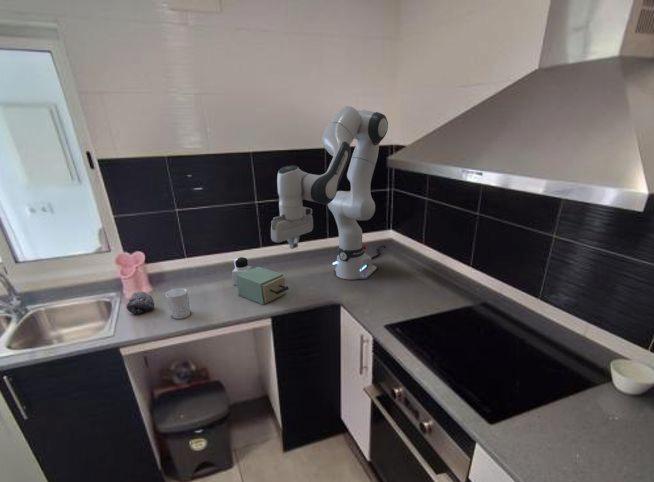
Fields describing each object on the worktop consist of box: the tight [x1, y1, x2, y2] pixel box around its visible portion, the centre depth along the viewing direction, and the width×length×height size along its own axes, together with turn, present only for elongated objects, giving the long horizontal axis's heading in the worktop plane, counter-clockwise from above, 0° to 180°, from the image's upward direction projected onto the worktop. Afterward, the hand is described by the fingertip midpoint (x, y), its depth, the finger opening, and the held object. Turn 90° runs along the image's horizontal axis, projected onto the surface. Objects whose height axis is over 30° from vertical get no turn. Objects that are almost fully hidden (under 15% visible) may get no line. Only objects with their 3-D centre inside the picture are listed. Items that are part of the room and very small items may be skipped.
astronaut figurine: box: [231, 256, 253, 286], centre depth 177 cm, size 7×7×12 cm
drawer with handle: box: [262, 276, 289, 304], centre depth 164 cm, size 19×11×8 cm, turn 53°
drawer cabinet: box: [236, 266, 285, 305], centre depth 166 cm, size 16×13×10 cm
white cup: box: [165, 287, 191, 320], centre depth 150 cm, size 8×8×10 cm
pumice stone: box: [125, 291, 156, 315], centre depth 155 cm, size 10×8×10 cm
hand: (293, 247), depth 150 cm, fingers closed
